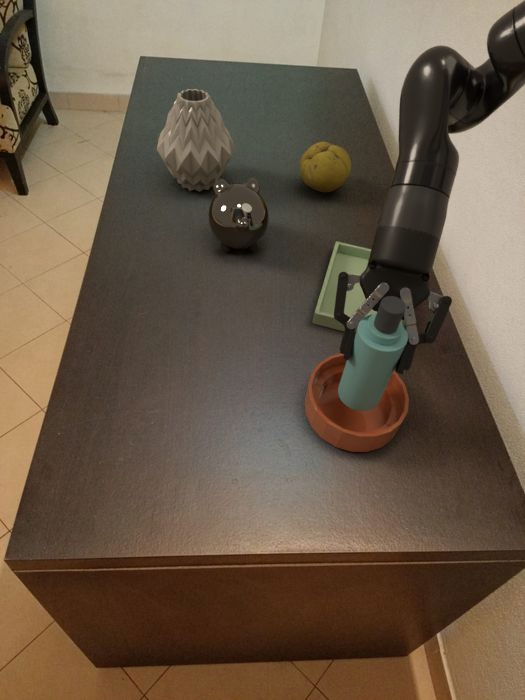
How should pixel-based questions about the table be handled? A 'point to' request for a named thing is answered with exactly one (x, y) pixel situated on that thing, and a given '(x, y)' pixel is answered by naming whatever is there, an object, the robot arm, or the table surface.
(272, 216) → the table surface
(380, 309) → the bottle
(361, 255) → the tray
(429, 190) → the robot arm
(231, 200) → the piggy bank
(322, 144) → the fruit
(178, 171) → the vase
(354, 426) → the bowl
